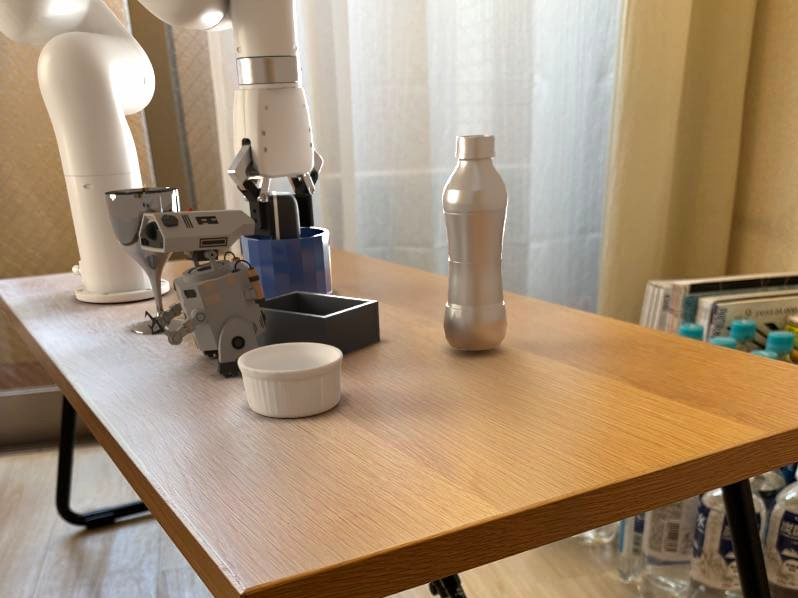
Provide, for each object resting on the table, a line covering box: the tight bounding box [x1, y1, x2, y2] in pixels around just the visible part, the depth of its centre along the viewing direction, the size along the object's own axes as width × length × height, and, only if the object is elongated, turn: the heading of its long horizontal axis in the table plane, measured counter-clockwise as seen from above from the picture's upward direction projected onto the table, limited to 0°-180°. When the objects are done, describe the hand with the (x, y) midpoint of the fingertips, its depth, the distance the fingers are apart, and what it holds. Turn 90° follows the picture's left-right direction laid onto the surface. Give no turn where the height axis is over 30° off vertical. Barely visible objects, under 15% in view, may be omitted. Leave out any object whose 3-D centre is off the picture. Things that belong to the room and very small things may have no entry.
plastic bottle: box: [441, 134, 509, 352], centre depth 87 cm, size 6×7×20 cm
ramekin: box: [238, 342, 344, 419], centre depth 77 cm, size 9×9×4 cm
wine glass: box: [105, 186, 185, 335], centre depth 102 cm, size 8×8×15 cm
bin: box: [256, 291, 381, 356], centre depth 95 cm, size 9×12×4 cm
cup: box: [238, 226, 334, 299], centre depth 117 cm, size 11×11×8 cm
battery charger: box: [266, 191, 301, 240], centre depth 116 cm, size 7×4×11 cm, turn 9°
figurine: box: [139, 207, 268, 379], centre depth 86 cm, size 9×12×15 cm
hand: (283, 229), depth 115 cm, fingers closed on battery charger, 7 cm apart
